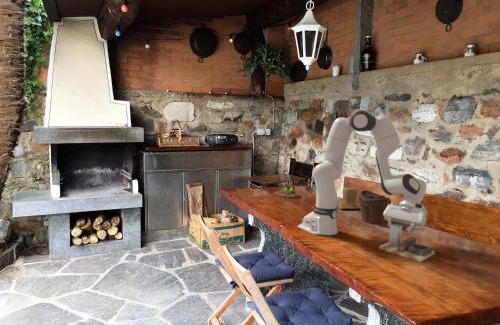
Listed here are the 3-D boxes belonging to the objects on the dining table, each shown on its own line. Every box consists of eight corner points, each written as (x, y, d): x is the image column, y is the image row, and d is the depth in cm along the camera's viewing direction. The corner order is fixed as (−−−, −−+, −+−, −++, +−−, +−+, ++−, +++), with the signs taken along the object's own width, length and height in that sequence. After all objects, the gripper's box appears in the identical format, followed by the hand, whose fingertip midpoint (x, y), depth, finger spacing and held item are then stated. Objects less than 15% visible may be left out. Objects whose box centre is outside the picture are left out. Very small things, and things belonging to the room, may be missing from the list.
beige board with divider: (379, 248, 175) (380, 237, 175) (393, 242, 185) (394, 232, 185) (420, 261, 160) (422, 250, 160) (434, 254, 170) (435, 242, 170)
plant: (287, 192, 303) (287, 179, 302) (304, 196, 289) (305, 183, 287) (269, 195, 291) (270, 181, 289) (287, 199, 276) (287, 185, 274)
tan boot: (353, 206, 261) (355, 185, 259) (361, 210, 250) (363, 189, 248) (334, 206, 258) (335, 186, 256) (341, 210, 247) (342, 189, 245)
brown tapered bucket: (391, 227, 212) (393, 197, 210) (355, 223, 218) (357, 194, 216) (389, 219, 229) (392, 191, 226) (357, 215, 235) (359, 188, 233)
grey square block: (388, 244, 177) (390, 225, 176) (392, 242, 180) (394, 223, 179) (396, 246, 174) (398, 227, 173) (400, 245, 177) (402, 225, 176)
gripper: (387, 199, 189) (376, 220, 183) (427, 207, 174) (417, 230, 168) (390, 206, 192) (380, 227, 187) (430, 214, 177) (420, 237, 172)
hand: (398, 228), depth 178 cm, fingers open, 8 cm apart
